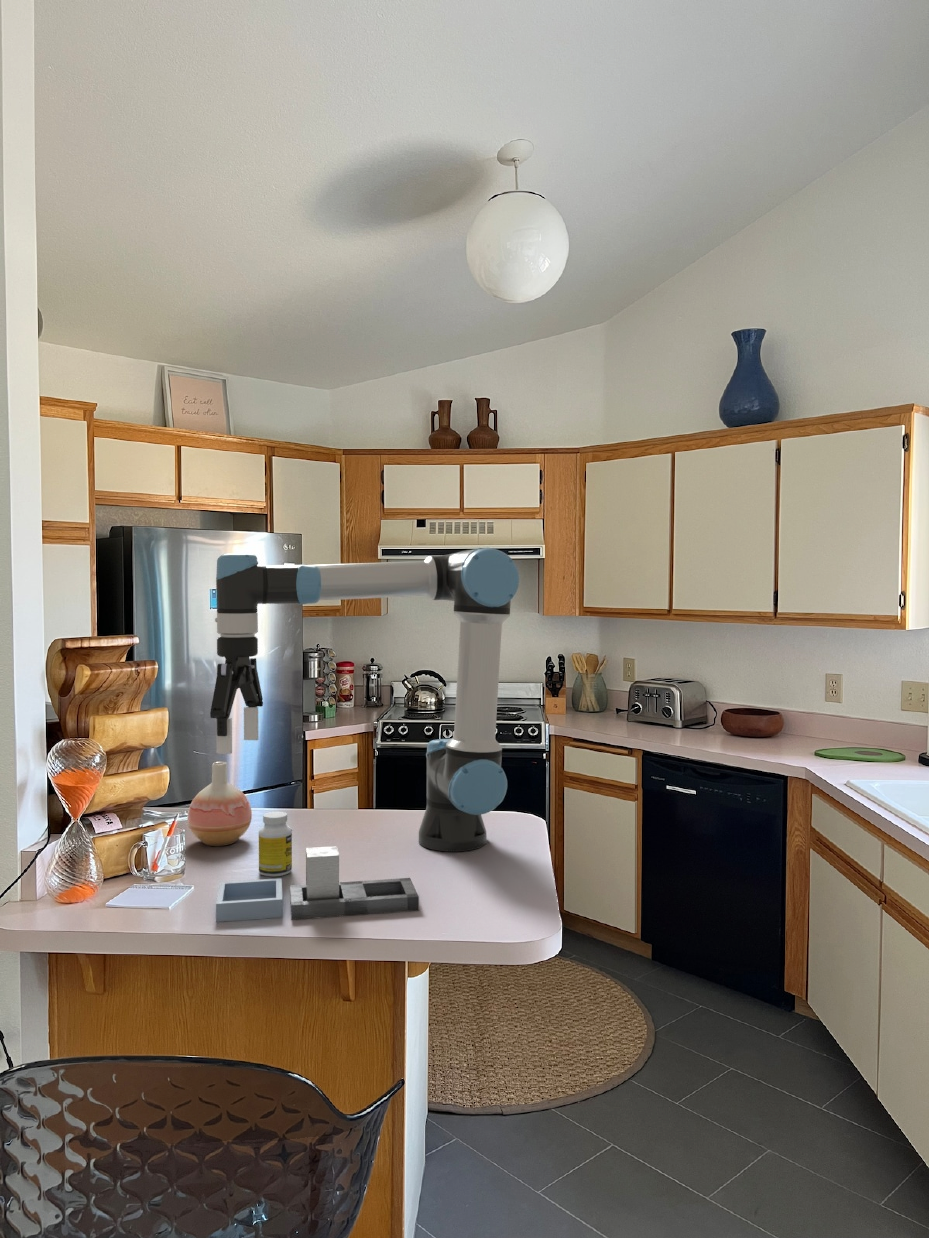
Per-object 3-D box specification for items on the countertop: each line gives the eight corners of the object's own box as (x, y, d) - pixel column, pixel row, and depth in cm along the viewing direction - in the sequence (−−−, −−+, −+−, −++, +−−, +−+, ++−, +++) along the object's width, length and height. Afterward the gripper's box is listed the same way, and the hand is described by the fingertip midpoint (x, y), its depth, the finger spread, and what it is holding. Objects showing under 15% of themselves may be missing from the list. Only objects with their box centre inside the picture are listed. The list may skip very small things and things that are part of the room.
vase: (218, 855, 186) (217, 772, 185) (174, 844, 193) (173, 764, 193) (264, 839, 198) (264, 761, 197) (221, 830, 205) (221, 754, 204)
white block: (336, 900, 161) (336, 846, 160) (339, 911, 155) (339, 855, 155) (306, 902, 160) (305, 847, 159) (307, 913, 154) (307, 857, 154)
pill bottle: (284, 879, 172) (284, 819, 171) (253, 876, 173) (252, 817, 173) (297, 868, 178) (297, 811, 178) (267, 866, 180) (266, 809, 179)
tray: (281, 894, 163) (281, 878, 163) (282, 917, 152) (282, 899, 152) (219, 898, 161) (219, 882, 161) (216, 921, 150) (215, 903, 150)
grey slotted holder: (410, 890, 166) (410, 877, 166) (418, 910, 156) (418, 896, 156) (290, 899, 161) (290, 885, 161) (291, 919, 151) (291, 905, 151)
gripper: (242, 631, 181) (243, 734, 182) (190, 639, 156) (191, 758, 157) (278, 631, 180) (278, 735, 181) (230, 640, 156) (231, 760, 157)
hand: (238, 746), depth 169 cm, fingers open, 13 cm apart
